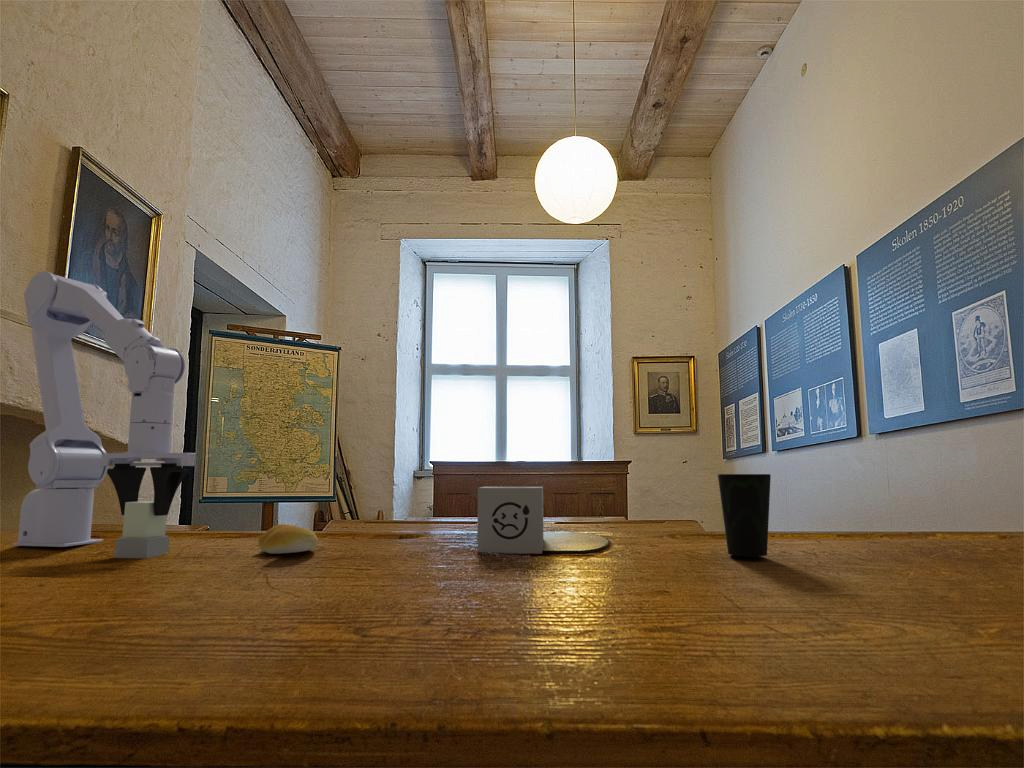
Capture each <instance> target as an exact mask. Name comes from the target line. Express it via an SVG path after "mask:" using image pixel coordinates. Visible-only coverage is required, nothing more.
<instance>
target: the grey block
mask: <svg viewBox="0 0 1024 768" xmlns="http://www.w3.org/2000/svg"><path fill="white" fill-rule="evenodd" d="M169 547H170V535H164V536H156V537H149V538H138V537H117V538H115V547H114V548H115V549H114V558H115V559H150V558H156V557H160V556H159V555H161V554H163V553H166V552H168V553H169Z"/></svg>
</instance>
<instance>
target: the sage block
mask: <svg viewBox="0 0 1024 768" xmlns="http://www.w3.org/2000/svg"><path fill="white" fill-rule="evenodd" d="M167 518H168V515H162V516H155V515H154V500H153V501H151V500H149V501H146V500H145V501H144V500H141V501H138V502H125V512H124V515H123V523H122V524H123V525H122V527H123V528H122V537H121V538H124V537H138V538H149V537H156V536H166V529H167Z"/></svg>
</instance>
